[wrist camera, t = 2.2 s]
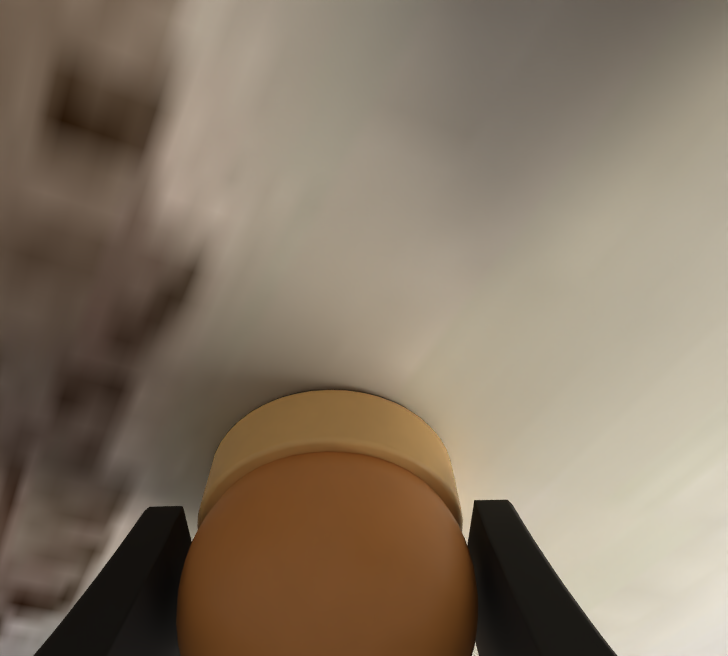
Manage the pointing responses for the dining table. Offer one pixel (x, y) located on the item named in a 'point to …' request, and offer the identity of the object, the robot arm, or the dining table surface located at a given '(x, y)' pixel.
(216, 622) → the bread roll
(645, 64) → the dining table surface
